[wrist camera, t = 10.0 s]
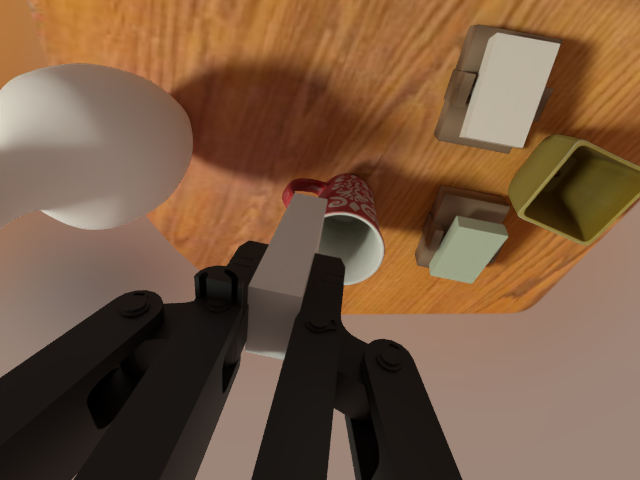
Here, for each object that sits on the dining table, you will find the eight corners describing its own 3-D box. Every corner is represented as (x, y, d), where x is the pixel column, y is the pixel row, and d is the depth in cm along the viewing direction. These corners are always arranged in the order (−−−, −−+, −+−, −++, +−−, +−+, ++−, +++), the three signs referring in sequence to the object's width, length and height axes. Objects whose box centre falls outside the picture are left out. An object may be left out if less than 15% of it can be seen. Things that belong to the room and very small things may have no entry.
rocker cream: (488, 38, 31) (497, 32, 29) (548, 49, 30) (560, 43, 29) (459, 137, 33) (465, 137, 32) (513, 147, 33) (522, 147, 31)
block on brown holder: (467, 25, 33) (483, 22, 29) (549, 40, 33) (577, 39, 29) (432, 133, 39) (440, 145, 35) (501, 147, 39) (518, 160, 34)
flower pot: (488, 185, 41) (515, 216, 34) (537, 118, 37) (581, 138, 29) (548, 211, 42) (588, 247, 34) (602, 149, 38) (662, 175, 30)
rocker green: (456, 215, 38) (459, 226, 36) (504, 225, 38) (508, 236, 36) (429, 264, 44) (430, 275, 43) (469, 272, 44) (472, 283, 43)
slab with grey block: (439, 184, 42) (447, 201, 38) (503, 197, 42) (519, 215, 37) (413, 253, 48) (418, 274, 43) (469, 264, 48) (480, 287, 43)
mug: (394, 198, 44) (404, 252, 32) (348, 238, 48) (342, 299, 37) (325, 133, 41) (308, 167, 29) (282, 182, 45) (252, 229, 33)
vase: (123, 159, 46) (-138, 281, 22) (112, 44, 38) (-303, 42, 15) (221, 185, 46) (66, 334, 22) (229, 76, 39) (7, 126, 15)
